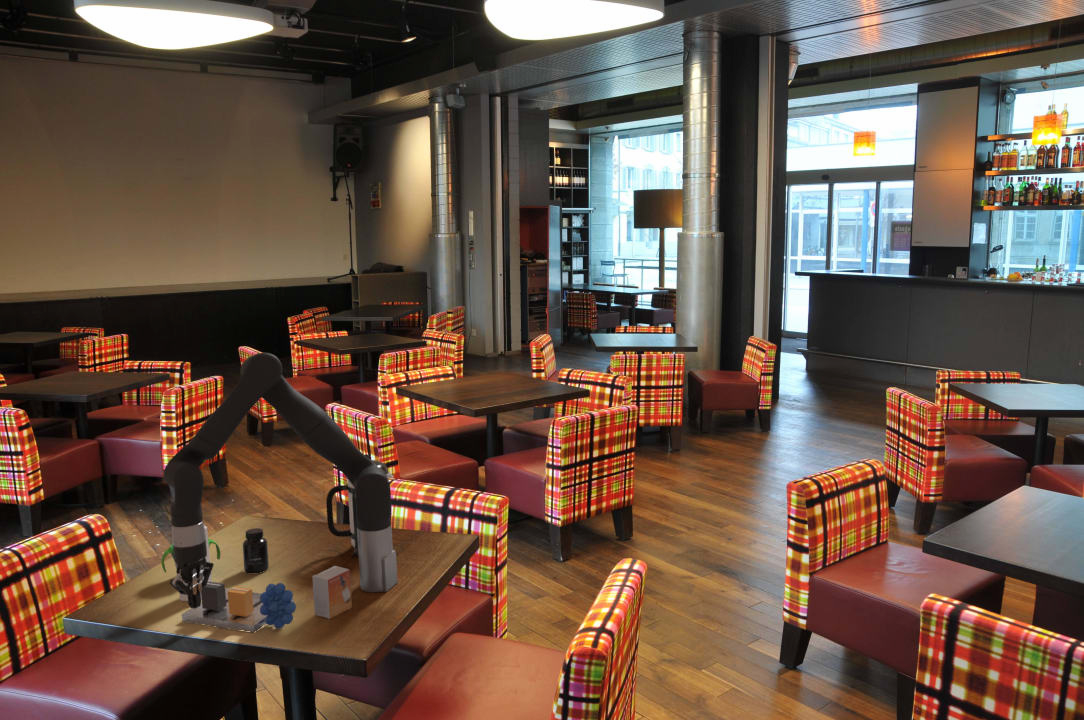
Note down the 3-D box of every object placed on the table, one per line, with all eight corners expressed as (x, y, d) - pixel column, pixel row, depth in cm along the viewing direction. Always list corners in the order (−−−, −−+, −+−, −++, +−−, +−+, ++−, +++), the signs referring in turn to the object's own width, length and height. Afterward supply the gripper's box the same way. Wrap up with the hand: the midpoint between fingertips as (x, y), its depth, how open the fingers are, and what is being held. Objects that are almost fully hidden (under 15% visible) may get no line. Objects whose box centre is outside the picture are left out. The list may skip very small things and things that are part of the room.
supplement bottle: (253, 576, 236) (250, 536, 234) (239, 571, 240) (236, 531, 238) (274, 568, 241) (271, 529, 239) (260, 563, 245) (257, 525, 244)
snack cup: (165, 589, 229) (161, 554, 227) (161, 576, 238) (158, 542, 236) (224, 577, 236) (221, 543, 235) (219, 564, 245) (216, 532, 244)
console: (294, 605, 217) (293, 597, 216) (254, 633, 202) (253, 625, 201) (225, 595, 224) (224, 588, 223) (182, 621, 209) (181, 613, 208)
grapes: (309, 626, 205) (306, 580, 203) (288, 637, 199) (286, 590, 197) (275, 616, 210) (272, 571, 209) (254, 627, 204) (251, 581, 203)
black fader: (226, 605, 212) (224, 582, 211) (218, 610, 209) (216, 587, 208) (210, 603, 213) (208, 580, 212) (202, 608, 211) (200, 585, 210)
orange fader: (253, 611, 208) (251, 588, 207) (245, 616, 205) (243, 593, 204) (237, 609, 210) (235, 585, 209) (229, 614, 207) (227, 590, 206)
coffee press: (370, 535, 266) (365, 445, 262) (405, 545, 257) (401, 452, 252) (327, 553, 252) (321, 458, 248) (363, 564, 243) (357, 465, 239)
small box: (329, 619, 208) (327, 580, 206) (314, 615, 211) (311, 575, 209) (352, 607, 215) (350, 569, 213) (337, 602, 217) (334, 564, 216)
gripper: (181, 551, 195) (188, 620, 197) (220, 532, 207) (225, 597, 209) (156, 548, 197) (163, 616, 200) (196, 529, 209) (201, 594, 212)
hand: (195, 606), depth 205 cm, fingers closed
